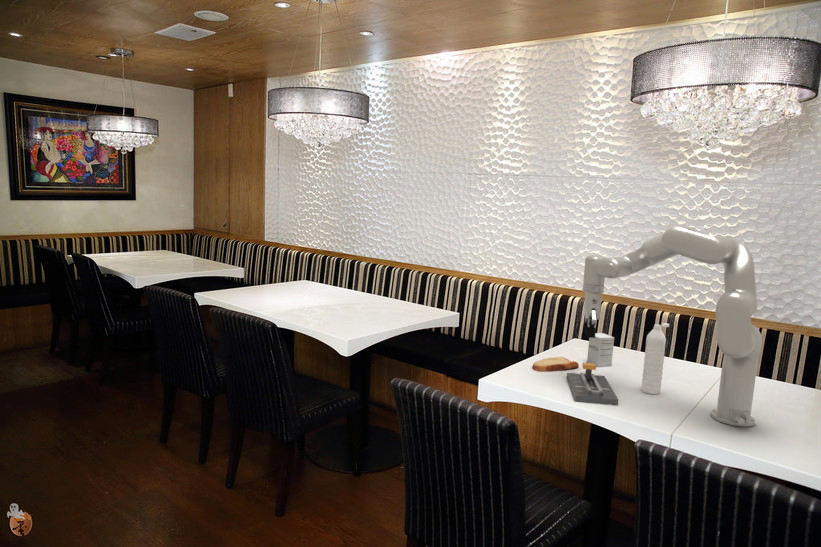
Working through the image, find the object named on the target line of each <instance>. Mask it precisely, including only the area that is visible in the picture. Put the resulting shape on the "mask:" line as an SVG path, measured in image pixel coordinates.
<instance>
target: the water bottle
mask: <svg viewBox="0 0 821 547" xmlns="http://www.w3.org/2000/svg"><path fill="white" fill-rule="evenodd" d="M653 325H654V326H653V329H651V331H649V332H648V334H647V335H646V339H645V350H644V360H643V361H644V362H643V370H642V380H641V386H640V387H641V392H643V393H646V394H650V395H659V394H660V393H661V390H662V388H661V387H662V380H663V379H662V378H663V377H662V376H663V370H664V360H665V350H666V345H667V344H666V343H667V338H666V335H665V334H664V331H662V330H663V329H662V327H664V328H670V323H666V322H665V323H664V322H662V323H661V324H653Z"/></svg>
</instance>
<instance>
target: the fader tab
mask: <svg viewBox="0 0 821 547" xmlns="http://www.w3.org/2000/svg"><path fill="white" fill-rule="evenodd" d="M581 366H582V369H583V370H585V378H586V379H588V380H591V374H593V373H592V371H596V370H597V367H596V365H595V364H593V363H589V362H582V365H581Z"/></svg>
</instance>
